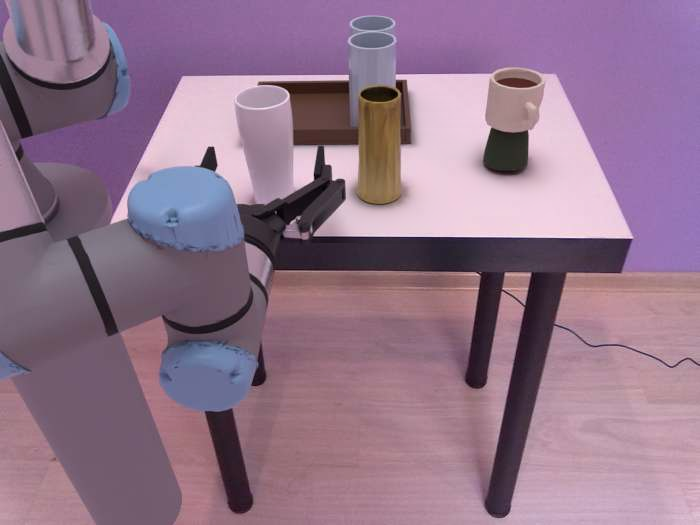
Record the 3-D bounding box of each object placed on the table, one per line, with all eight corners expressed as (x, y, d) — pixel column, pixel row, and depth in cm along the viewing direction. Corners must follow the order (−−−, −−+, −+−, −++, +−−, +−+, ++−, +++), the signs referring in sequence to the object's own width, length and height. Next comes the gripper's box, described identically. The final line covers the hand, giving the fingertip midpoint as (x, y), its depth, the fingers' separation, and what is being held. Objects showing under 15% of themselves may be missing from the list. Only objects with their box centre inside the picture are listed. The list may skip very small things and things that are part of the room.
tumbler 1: (351, 117, 102) (348, 31, 93) (352, 98, 107) (350, 15, 98) (394, 117, 101) (395, 30, 92) (393, 98, 107) (394, 15, 98)
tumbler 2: (349, 138, 96) (347, 49, 87) (351, 117, 102) (348, 31, 93) (395, 138, 96) (396, 48, 87) (394, 117, 101) (395, 30, 92)
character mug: (545, 180, 86) (564, 91, 77) (498, 188, 84) (511, 98, 76) (510, 142, 94) (523, 58, 85) (466, 150, 92) (475, 65, 84)
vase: (384, 210, 81) (385, 109, 72) (347, 195, 84) (344, 96, 75) (410, 189, 85) (414, 90, 76) (373, 175, 88) (373, 78, 79)
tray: (243, 145, 96) (241, 129, 94) (260, 95, 109) (258, 81, 107) (410, 143, 94) (411, 128, 93) (406, 93, 108) (406, 79, 106)
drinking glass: (291, 182, 87) (280, 80, 77) (307, 207, 82) (298, 102, 72) (244, 194, 85) (227, 90, 75) (257, 220, 80) (241, 113, 71)
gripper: (122, 293, 64) (174, 181, 80) (364, 294, 63) (367, 181, 79) (101, 235, 59) (161, 129, 75) (363, 236, 58) (367, 127, 74)
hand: (267, 155), depth 77 cm, fingers open, 13 cm apart
